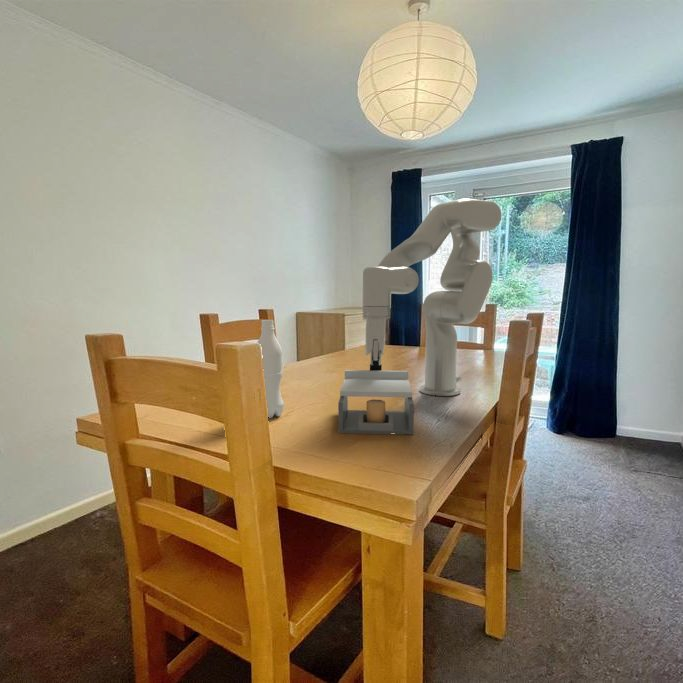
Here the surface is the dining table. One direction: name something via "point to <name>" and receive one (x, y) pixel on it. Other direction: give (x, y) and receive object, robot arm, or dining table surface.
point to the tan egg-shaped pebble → (375, 411)
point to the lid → (376, 383)
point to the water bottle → (271, 368)
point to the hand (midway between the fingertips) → (375, 378)
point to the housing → (358, 423)
